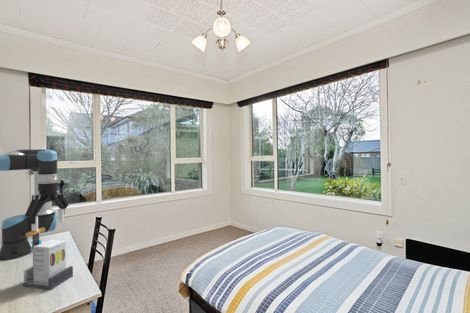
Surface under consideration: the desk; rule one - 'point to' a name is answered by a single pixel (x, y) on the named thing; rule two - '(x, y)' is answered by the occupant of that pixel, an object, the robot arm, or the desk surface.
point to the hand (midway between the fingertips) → (48, 225)
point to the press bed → (51, 280)
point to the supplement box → (49, 259)
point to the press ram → (35, 237)
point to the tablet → (39, 243)
